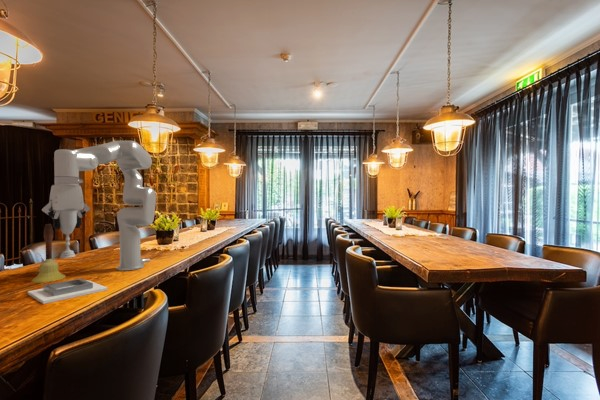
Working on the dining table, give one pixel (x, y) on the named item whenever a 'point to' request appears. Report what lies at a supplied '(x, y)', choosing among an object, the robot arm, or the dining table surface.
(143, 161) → the robot arm
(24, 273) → the dining table surface
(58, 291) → the collar
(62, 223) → the chalice
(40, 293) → the board
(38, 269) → the lily
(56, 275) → the handbell
